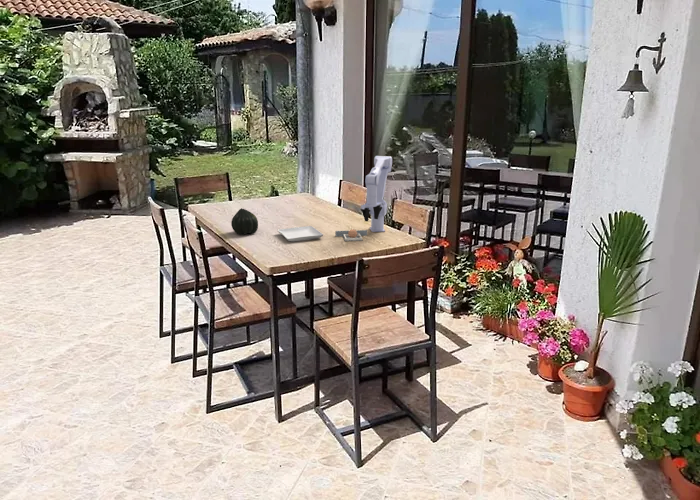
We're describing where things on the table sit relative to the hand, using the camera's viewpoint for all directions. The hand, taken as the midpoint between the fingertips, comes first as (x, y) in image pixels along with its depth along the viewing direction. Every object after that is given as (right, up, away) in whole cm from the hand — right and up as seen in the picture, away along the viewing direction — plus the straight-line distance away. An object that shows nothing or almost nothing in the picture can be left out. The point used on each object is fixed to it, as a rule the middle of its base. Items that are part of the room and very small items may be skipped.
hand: (371, 220), depth 301 cm
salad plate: (-40, -10, +1) cm, 41 cm away
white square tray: (-10, -10, -2) cm, 15 cm away
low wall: (-11, -9, +3) cm, 15 cm away
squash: (-72, -7, +8) cm, 73 cm away
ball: (-10, -8, -3) cm, 13 cm away
